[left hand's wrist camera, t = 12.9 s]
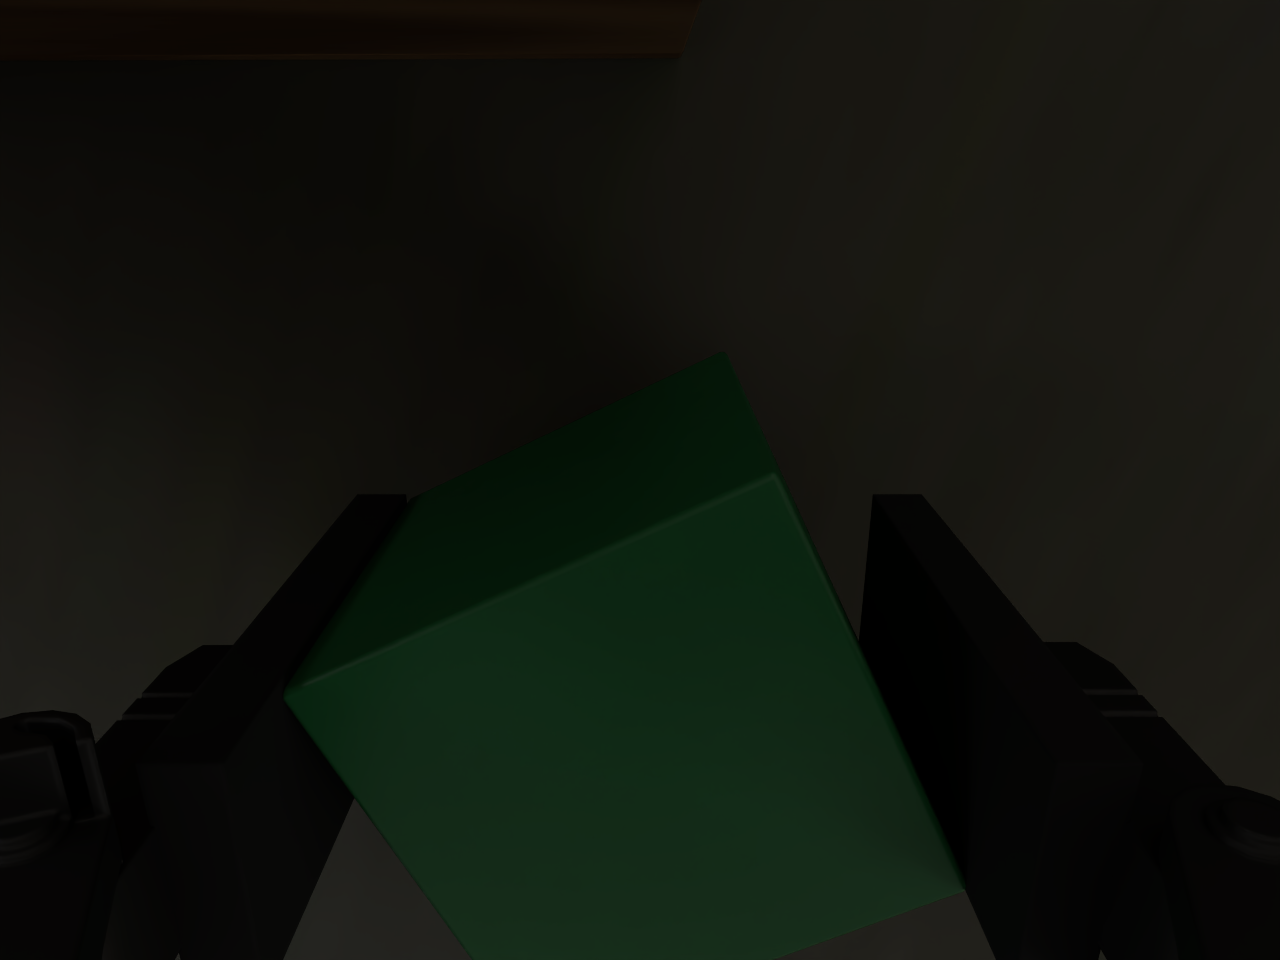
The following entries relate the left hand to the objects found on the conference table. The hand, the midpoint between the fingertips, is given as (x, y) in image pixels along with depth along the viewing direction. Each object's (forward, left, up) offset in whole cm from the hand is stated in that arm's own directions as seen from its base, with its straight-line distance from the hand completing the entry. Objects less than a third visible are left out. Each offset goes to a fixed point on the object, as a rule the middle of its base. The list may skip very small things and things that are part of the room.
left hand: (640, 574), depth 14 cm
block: (0, 0, 0) cm, 0 cm away
